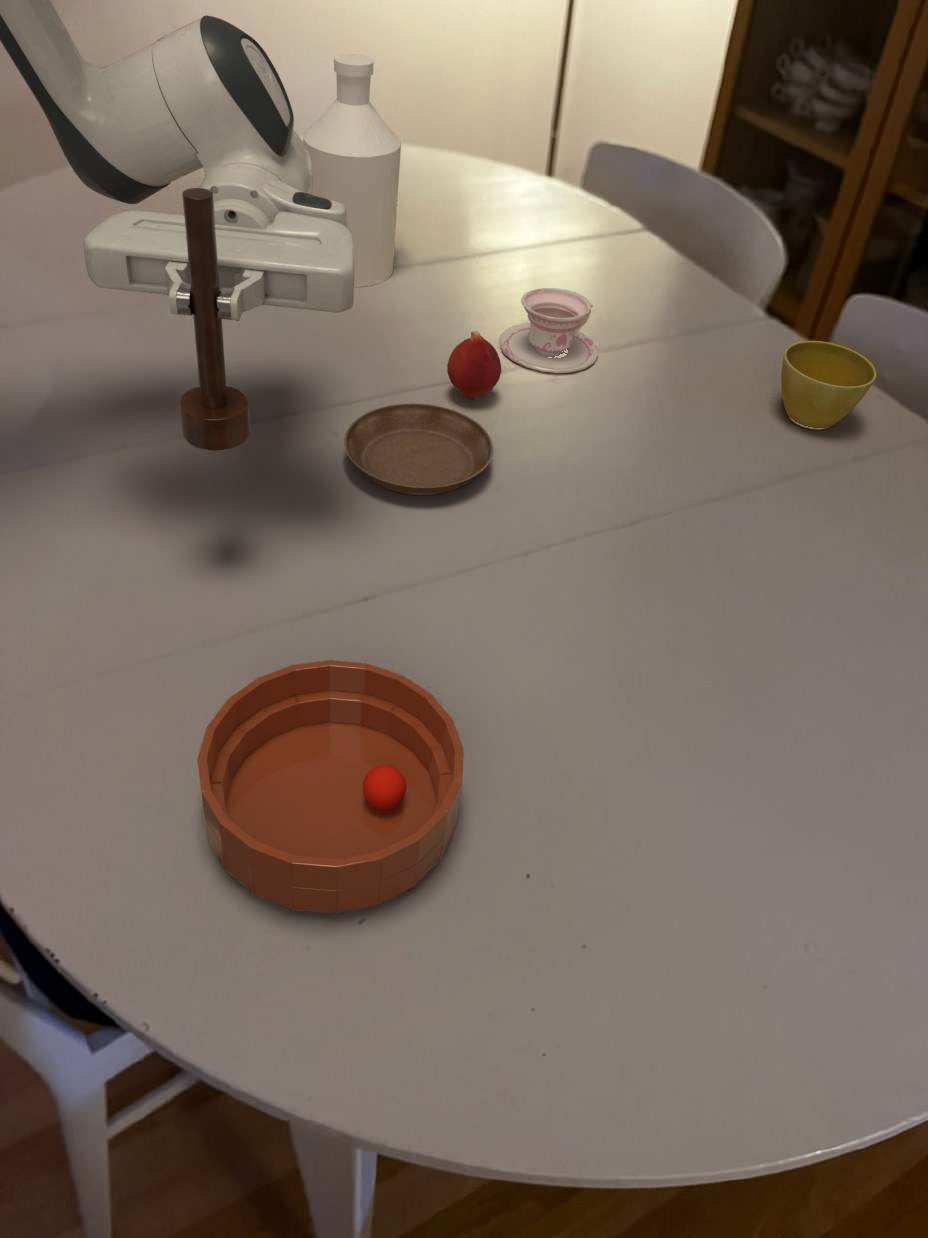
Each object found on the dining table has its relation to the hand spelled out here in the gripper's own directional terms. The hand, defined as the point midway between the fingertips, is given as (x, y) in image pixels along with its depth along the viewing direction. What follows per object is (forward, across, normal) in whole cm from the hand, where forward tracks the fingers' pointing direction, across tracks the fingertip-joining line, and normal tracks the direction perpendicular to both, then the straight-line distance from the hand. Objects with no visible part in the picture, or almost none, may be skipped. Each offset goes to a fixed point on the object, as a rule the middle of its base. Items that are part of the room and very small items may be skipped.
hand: (203, 308), depth 73 cm
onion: (-32, +21, +24) cm, 45 cm away
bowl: (+25, +13, +24) cm, 37 cm away
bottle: (-62, +4, +24) cm, 67 cm away
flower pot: (-35, +60, +24) cm, 73 cm away
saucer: (-18, +16, +24) cm, 34 cm away
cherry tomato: (+25, +16, +22) cm, 36 cm away
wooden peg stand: (-1, 0, +11) cm, 11 cm away
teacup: (-45, +30, +24) cm, 59 cm away
